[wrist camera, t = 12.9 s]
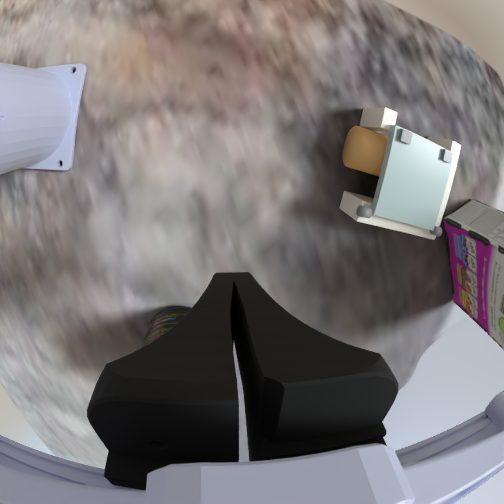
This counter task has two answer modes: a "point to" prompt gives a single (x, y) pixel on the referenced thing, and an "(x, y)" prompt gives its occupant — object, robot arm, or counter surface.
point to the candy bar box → (478, 264)
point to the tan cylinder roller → (364, 150)
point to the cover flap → (412, 179)
